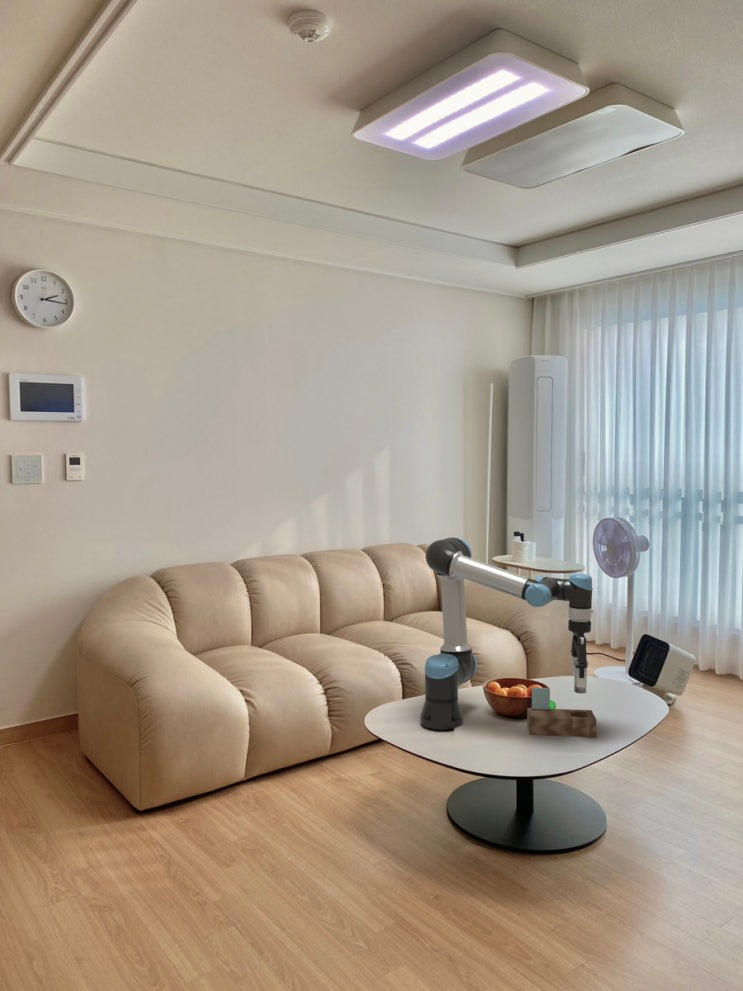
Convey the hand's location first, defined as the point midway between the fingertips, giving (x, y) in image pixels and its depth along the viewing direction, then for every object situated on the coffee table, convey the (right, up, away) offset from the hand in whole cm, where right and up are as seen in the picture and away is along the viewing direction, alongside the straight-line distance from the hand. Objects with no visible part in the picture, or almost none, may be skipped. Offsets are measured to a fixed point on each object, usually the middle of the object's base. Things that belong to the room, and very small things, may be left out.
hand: (578, 681), depth 270 cm
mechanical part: (-5, -17, +25) cm, 31 cm away
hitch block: (-6, -17, +1) cm, 18 cm away
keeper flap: (-12, -11, +5) cm, 16 cm away
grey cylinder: (0, -3, -4) cm, 5 cm away
